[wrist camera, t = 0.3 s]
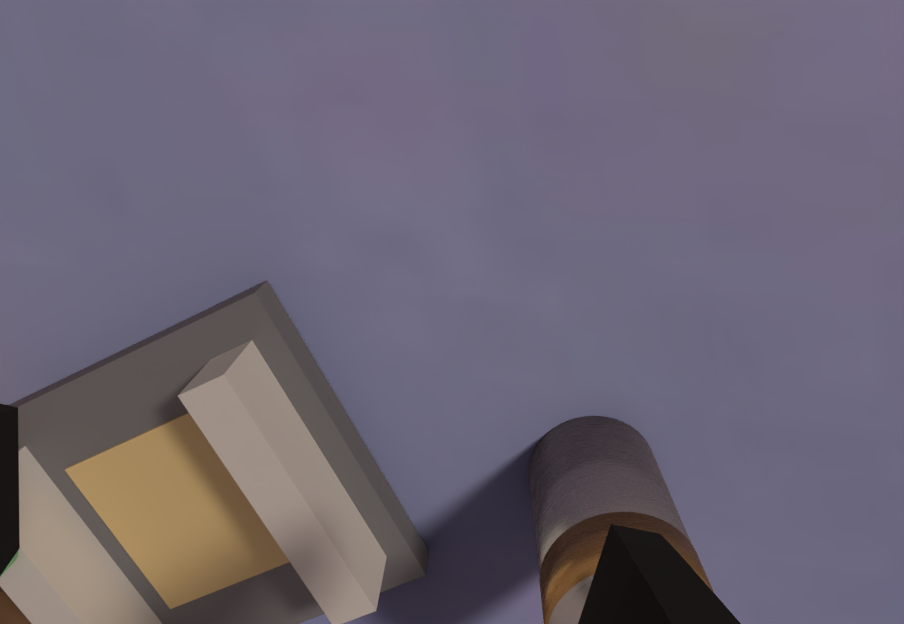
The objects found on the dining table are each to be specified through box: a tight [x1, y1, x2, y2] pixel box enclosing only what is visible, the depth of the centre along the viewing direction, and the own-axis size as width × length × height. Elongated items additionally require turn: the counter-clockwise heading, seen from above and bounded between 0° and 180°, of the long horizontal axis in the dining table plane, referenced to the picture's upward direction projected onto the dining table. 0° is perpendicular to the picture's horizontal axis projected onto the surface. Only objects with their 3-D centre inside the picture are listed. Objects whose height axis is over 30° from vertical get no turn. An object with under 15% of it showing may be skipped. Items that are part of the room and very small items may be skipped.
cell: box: [529, 416, 714, 624], centre depth 16 cm, size 4×3×6 cm
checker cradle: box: [0, 281, 429, 624], centre depth 18 cm, size 9×10×4 cm
